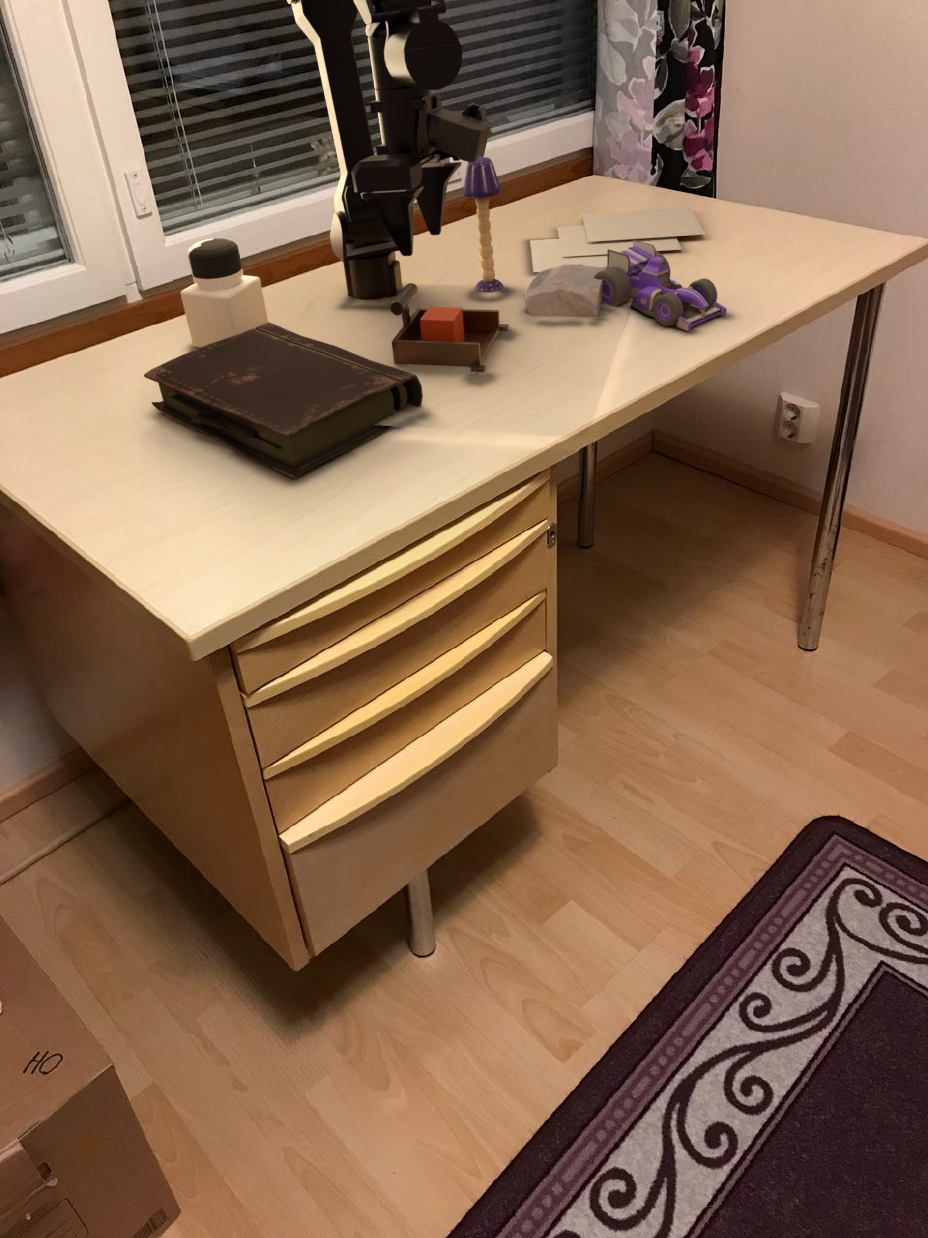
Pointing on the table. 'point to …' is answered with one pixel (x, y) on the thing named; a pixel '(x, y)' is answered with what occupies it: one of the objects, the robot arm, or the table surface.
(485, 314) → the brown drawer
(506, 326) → the hinge brackets
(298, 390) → the diary
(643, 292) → the toy race car
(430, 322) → the cube
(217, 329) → the medicine bottle
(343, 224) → the robot arm
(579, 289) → the stone block
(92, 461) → the table surface
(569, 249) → the paper stack
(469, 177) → the toy lamp
